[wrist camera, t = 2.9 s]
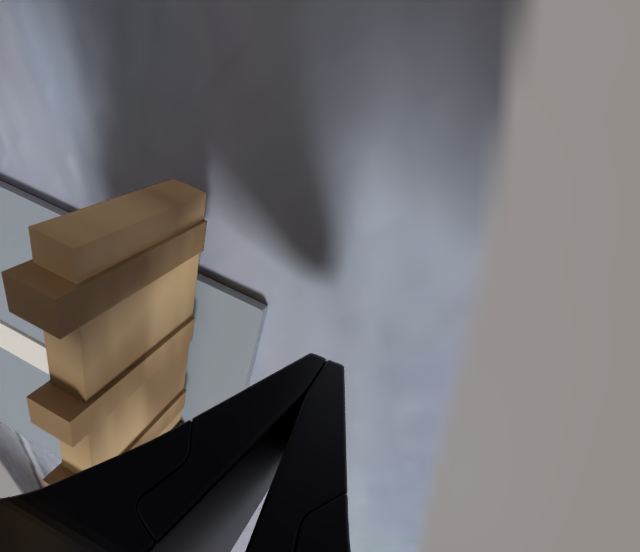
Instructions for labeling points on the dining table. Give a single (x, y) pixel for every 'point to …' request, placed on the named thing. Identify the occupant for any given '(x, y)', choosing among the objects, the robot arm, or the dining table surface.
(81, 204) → the dining table surface
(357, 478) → the dining table surface
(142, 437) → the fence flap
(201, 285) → the card
